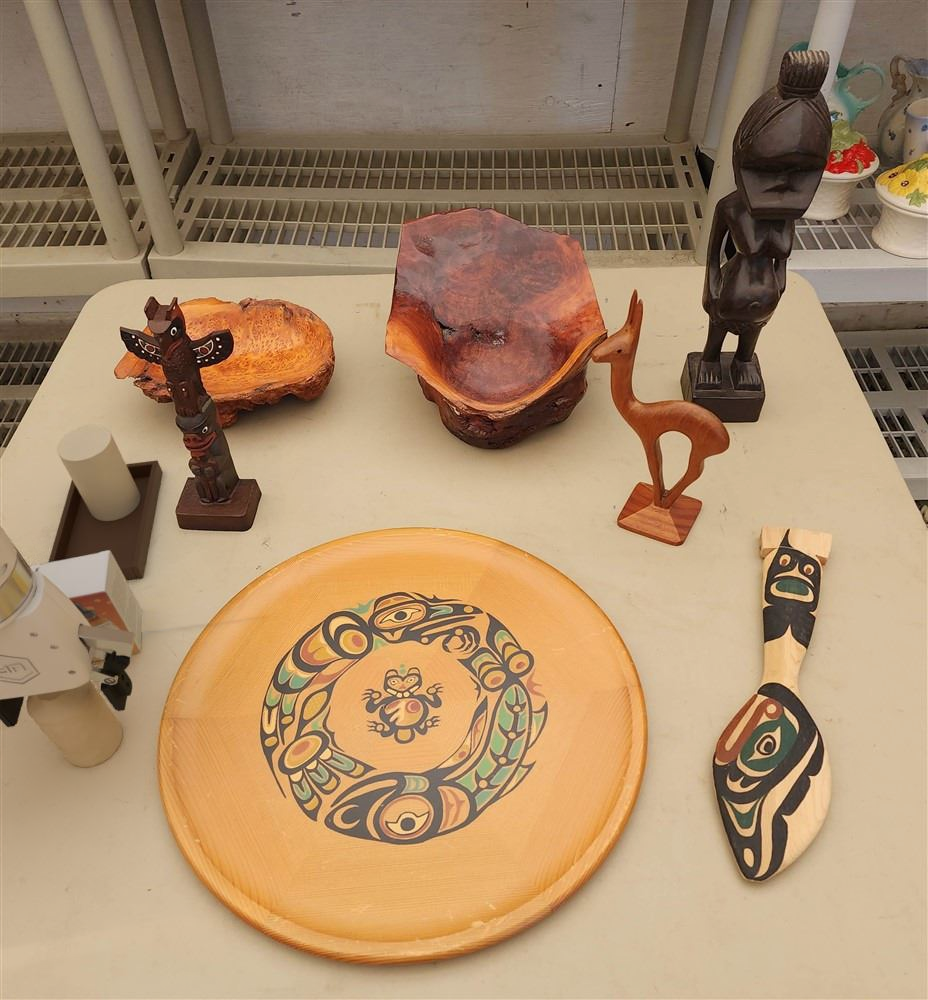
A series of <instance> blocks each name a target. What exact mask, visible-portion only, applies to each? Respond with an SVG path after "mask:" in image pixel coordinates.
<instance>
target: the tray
mask: <svg viewBox="0 0 928 1000" xmlns="http://www.w3.org/2000/svg"><path fill="white" fill-rule="evenodd" d="M125 464H126V466H127V468H128V470H129V472H130V474H131V476H132V478H133V480H134V482H135V484H136V486H137V488H138V490H139V493H140V502H139V504H138V506H137V507H136V509H135V510H134V511H133V512H131V513H130V514H129V515H127V516H125V517H123V518H121V519H118V520H114V521H101V520H98V519H96V518H94V517H93V516H92V514H91V512H90V511H89V509H88V507H87V505H86V503H85V502H84V500H83V498H82V496H81V494H80V493H79V491H78V489H77V487H76V485H75V484H74V482H73V480H72V479H71V481H70V485H69V489H68V492H67V496H66V500H65V504H64V506H63V510H62V513H61V517H60V520H59V523H58V527H57V531H56V535H55V537H54V541H53V544H52V548H51V552H50V555H49V558H48V561H47V563H49V562H54V561H59V560H65V559H70V558H75V557H80V556H85V555H90V554H95V553H99V552H102V551H107V550H110V551H111V553H112V555H113V556H114V558H115V560H116V562H117V564H118V566H119V568H120V570H121V571H122V573H123V575H124V577H125V579H126V581H127V582H128V581H135V580H142V579H144V575H145V571H146V565H147V561H148V554H149V550H150V543H151V538H152V533H153V526H154V522H155V516H156V511H157V505H158V501H159V495H160V489H161V483H162V478H163V474H164V472H163V470H162V467H161V465H160V463H159V460H157V459H156V460H149V461H142V462H133V463H125Z"/></svg>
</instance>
